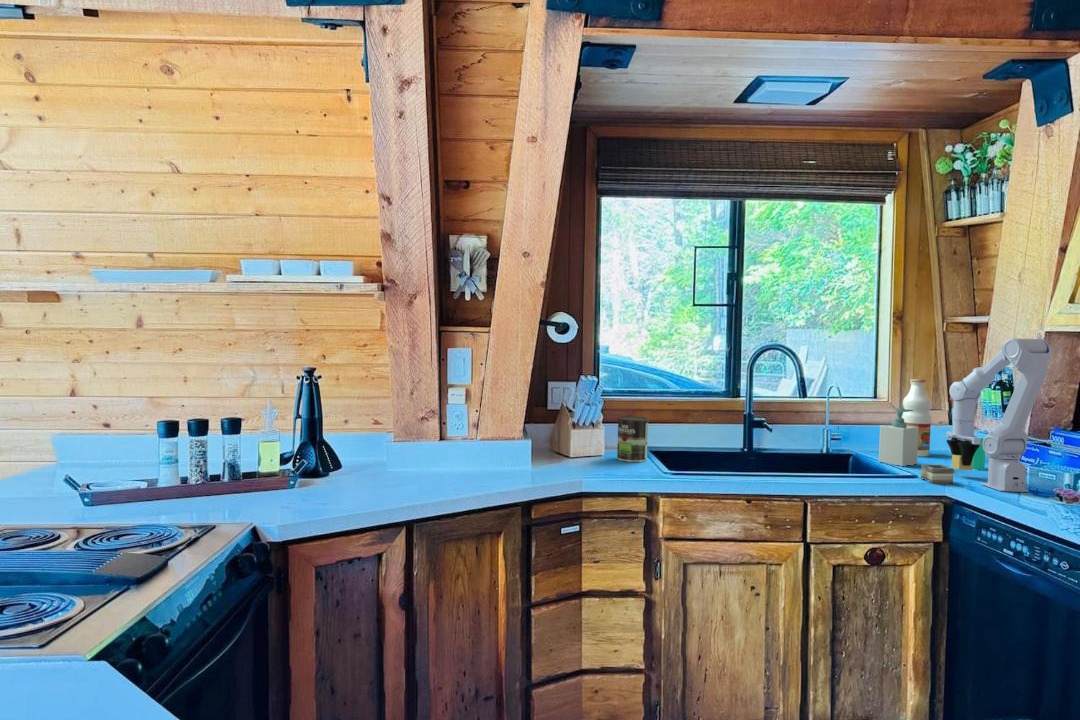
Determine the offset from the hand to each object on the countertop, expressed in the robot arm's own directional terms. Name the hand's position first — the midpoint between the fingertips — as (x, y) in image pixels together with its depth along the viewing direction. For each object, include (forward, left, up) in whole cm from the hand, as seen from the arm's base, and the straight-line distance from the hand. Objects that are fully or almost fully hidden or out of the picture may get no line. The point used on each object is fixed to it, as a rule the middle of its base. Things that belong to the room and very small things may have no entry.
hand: (961, 464), depth 214 cm
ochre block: (0, 0, -2) cm, 2 cm away
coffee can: (+17, +101, -4) cm, 102 cm away
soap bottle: (+20, +10, -4) cm, 23 cm away
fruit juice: (+39, -6, -4) cm, 40 cm away
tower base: (-8, +12, -4) cm, 15 cm away
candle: (+15, -13, -4) cm, 20 cm away
